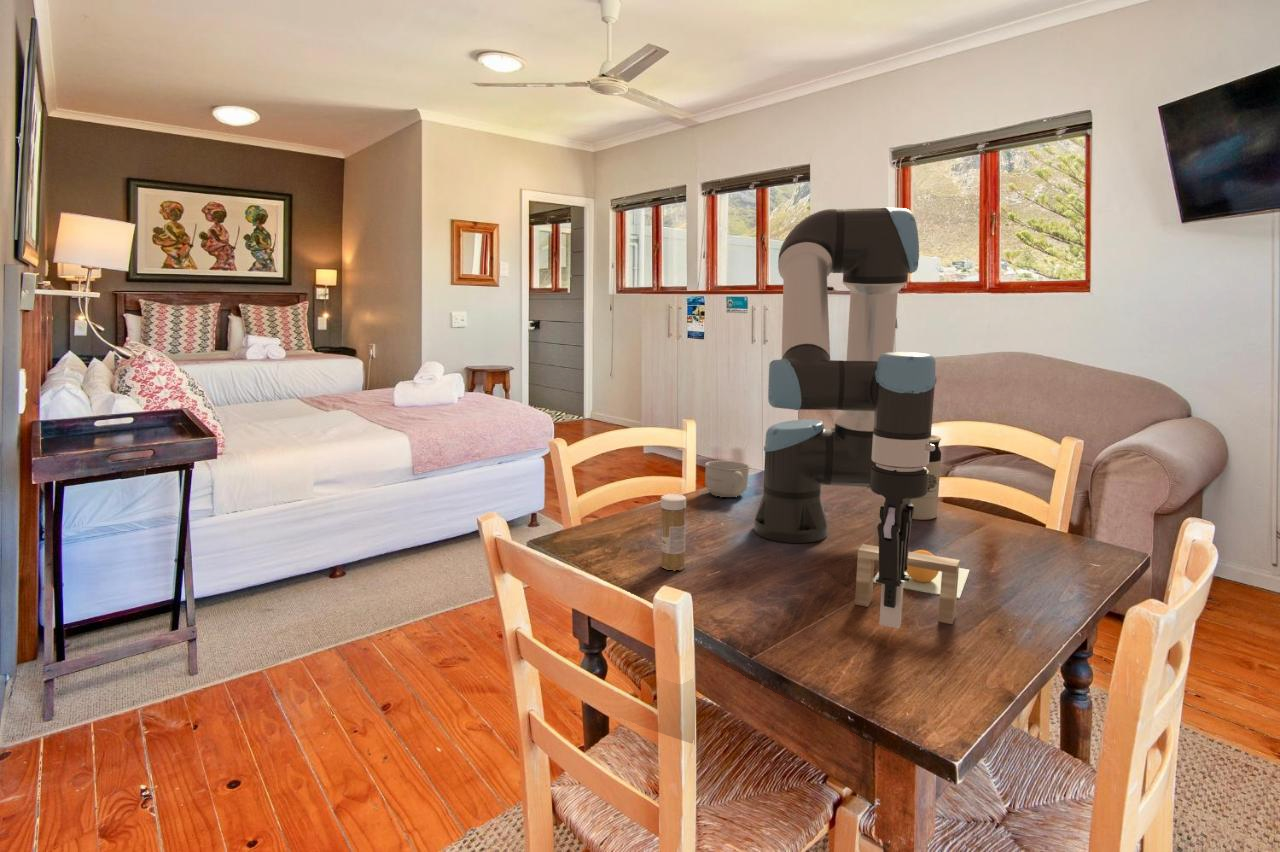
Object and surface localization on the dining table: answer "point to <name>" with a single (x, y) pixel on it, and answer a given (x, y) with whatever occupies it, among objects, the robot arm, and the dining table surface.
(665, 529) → the sprinkles bottle
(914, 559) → the bridge
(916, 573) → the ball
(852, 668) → the dining table surface
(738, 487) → the teacup
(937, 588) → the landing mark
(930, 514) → the travel mug
